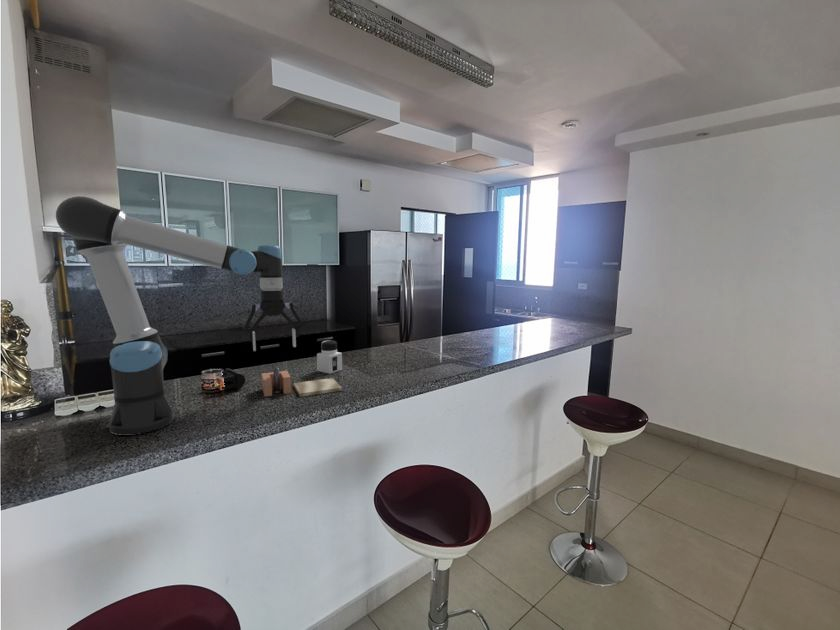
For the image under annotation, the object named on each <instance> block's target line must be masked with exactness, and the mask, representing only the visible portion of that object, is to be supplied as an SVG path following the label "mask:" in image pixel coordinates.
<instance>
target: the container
mask: <svg viewBox="0 0 840 630" xmlns="http://www.w3.org/2000/svg"><path fill="white" fill-rule="evenodd" d="M316 368H317V372H321V373H324V374H328V375H329V374H333V373H336V372H337V373H338V372H340V371H342V370H343V353H342V352H339V351H338V342H337V341H336V340H330V339H329V340H324V341H322V342H321V352H318V353H317V354H316Z"/></svg>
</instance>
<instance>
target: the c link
mask: <svg viewBox="0 0 840 630" xmlns="http://www.w3.org/2000/svg"><path fill="white" fill-rule="evenodd" d="M279 379H280V390H281V391H282V392H283V395H288V394H292V377H291V375H290V373H289V372H288V370H281V371H280V370H279ZM261 389H262V393H263V396H264V397H272V396H273V390H274V378H273V371H271V372H263V373H261Z"/></svg>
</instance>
